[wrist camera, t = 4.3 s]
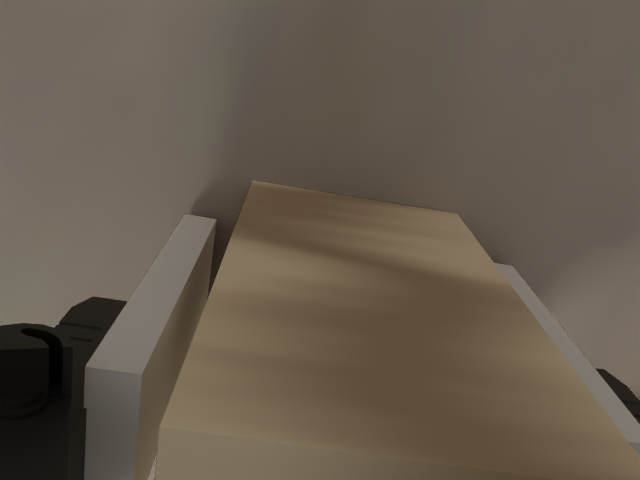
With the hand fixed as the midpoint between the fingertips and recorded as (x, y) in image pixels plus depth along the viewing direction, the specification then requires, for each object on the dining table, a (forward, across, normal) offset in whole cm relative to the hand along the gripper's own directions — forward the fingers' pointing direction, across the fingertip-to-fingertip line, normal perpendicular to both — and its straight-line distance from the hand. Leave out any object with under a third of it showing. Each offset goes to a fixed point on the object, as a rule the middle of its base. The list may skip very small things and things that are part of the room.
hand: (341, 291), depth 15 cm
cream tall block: (0, 0, 0) cm, 0 cm away
